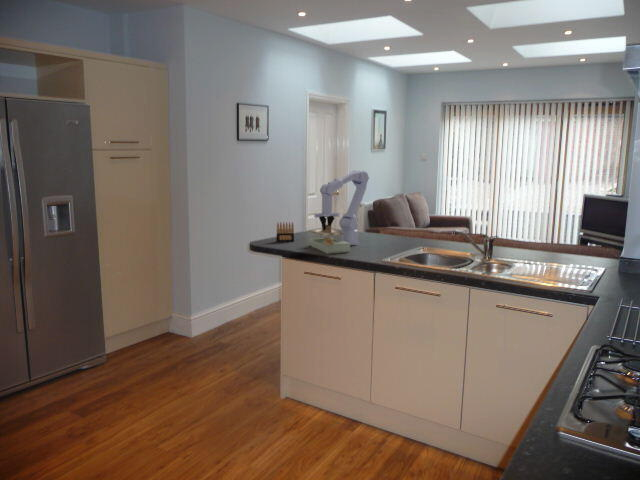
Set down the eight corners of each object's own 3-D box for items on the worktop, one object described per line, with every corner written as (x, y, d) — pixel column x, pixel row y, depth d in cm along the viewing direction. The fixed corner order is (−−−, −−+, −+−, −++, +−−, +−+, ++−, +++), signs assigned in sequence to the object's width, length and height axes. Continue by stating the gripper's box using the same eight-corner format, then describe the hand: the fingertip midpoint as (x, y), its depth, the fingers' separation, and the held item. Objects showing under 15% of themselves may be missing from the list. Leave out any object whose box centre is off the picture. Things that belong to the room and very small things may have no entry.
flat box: (331, 244, 308) (331, 236, 307) (349, 252, 287) (350, 243, 286) (309, 245, 303) (309, 237, 302) (326, 253, 281) (326, 244, 280)
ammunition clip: (276, 242, 313) (276, 222, 310) (276, 241, 314) (276, 221, 312) (294, 241, 315) (294, 221, 313) (293, 241, 317) (293, 221, 314)
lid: (331, 230, 307) (331, 222, 307) (343, 234, 293) (344, 226, 292) (309, 231, 302) (309, 223, 301) (321, 236, 287) (321, 227, 286)
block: (328, 242, 285) (328, 237, 285) (333, 244, 280) (333, 239, 279) (323, 243, 284) (323, 237, 284) (328, 245, 279) (328, 239, 278)
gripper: (335, 204, 301) (334, 227, 303) (312, 205, 295) (312, 229, 298) (340, 205, 295) (340, 229, 297) (317, 206, 289) (316, 230, 291)
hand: (326, 229), depth 297 cm, fingers closed on lid, 2 cm apart
